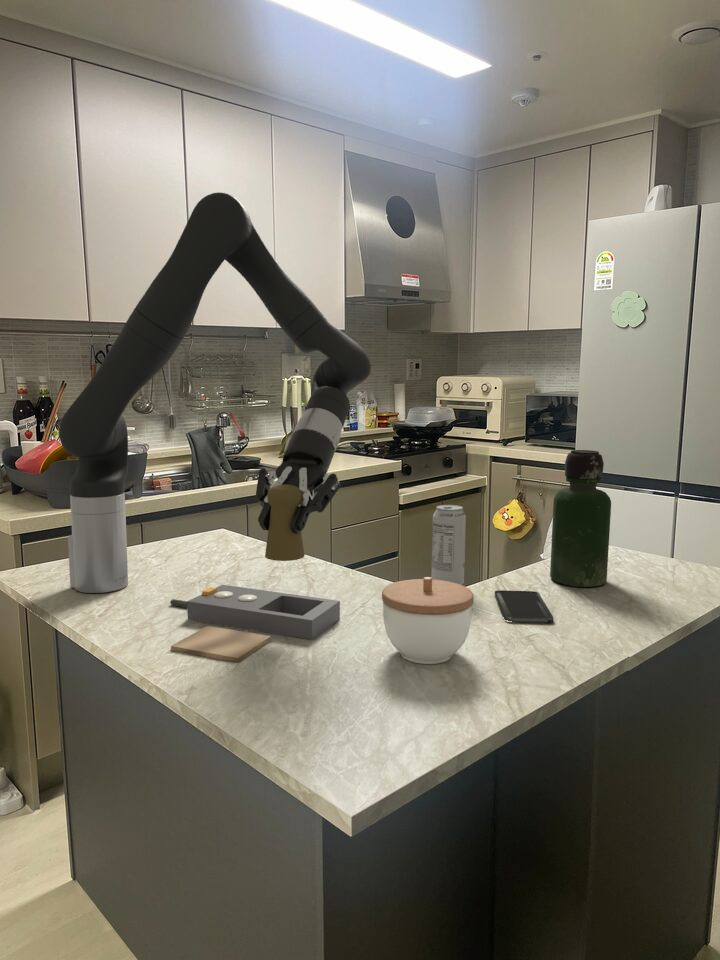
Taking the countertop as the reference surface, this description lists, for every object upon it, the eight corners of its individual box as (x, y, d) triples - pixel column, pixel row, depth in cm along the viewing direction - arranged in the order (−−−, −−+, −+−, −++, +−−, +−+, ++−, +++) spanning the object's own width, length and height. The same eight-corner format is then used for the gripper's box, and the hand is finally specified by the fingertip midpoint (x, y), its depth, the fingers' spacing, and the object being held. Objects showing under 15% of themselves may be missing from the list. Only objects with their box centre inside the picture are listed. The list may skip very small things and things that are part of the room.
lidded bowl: (381, 637, 106) (382, 565, 104) (466, 638, 105) (468, 566, 104) (381, 671, 93) (382, 590, 92) (477, 673, 93) (480, 592, 91)
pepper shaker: (288, 563, 105) (288, 489, 103) (256, 557, 108) (256, 485, 106) (312, 554, 110) (312, 484, 108) (281, 549, 113) (281, 481, 112)
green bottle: (539, 579, 137) (545, 450, 133) (568, 570, 144) (574, 447, 140) (588, 592, 129) (595, 455, 126) (616, 581, 136) (624, 451, 133)
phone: (505, 618, 113) (493, 590, 127) (504, 625, 113) (493, 596, 128) (555, 619, 112) (538, 591, 127) (555, 626, 112) (538, 597, 127)
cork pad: (171, 649, 100) (170, 645, 100) (207, 629, 108) (207, 625, 108) (238, 662, 96) (238, 658, 96) (271, 640, 104) (271, 636, 104)
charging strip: (151, 613, 115) (151, 592, 115) (188, 596, 124) (188, 576, 124) (312, 639, 104) (312, 616, 104) (339, 618, 114) (339, 597, 113)
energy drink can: (470, 587, 131) (473, 508, 129) (446, 593, 128) (448, 511, 126) (448, 580, 136) (450, 503, 134) (424, 585, 133) (426, 506, 130)
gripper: (267, 425, 116) (227, 510, 106) (348, 429, 110) (314, 519, 101) (282, 454, 121) (246, 538, 112) (360, 459, 116) (329, 547, 107)
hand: (278, 528), depth 107 cm, fingers closed on pepper shaker, 4 cm apart
